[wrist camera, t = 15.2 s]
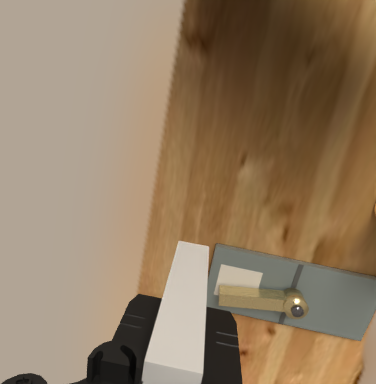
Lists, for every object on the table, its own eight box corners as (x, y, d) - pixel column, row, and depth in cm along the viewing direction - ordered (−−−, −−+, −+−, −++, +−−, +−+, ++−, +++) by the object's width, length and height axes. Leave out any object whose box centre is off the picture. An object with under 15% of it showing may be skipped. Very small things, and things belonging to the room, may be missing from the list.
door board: (216, 243, 44) (216, 246, 43) (383, 278, 43) (388, 283, 42) (202, 301, 48) (201, 306, 47) (357, 335, 47) (361, 341, 46)
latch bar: (300, 307, 44) (308, 323, 41) (218, 299, 46) (218, 314, 42) (304, 288, 43) (311, 303, 40) (219, 281, 44) (220, 295, 41)
